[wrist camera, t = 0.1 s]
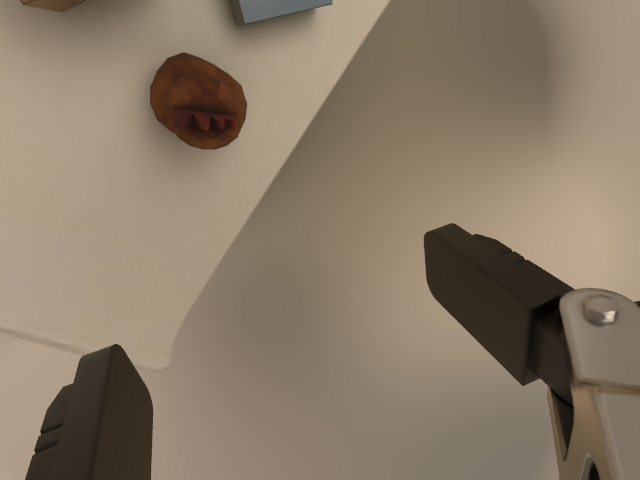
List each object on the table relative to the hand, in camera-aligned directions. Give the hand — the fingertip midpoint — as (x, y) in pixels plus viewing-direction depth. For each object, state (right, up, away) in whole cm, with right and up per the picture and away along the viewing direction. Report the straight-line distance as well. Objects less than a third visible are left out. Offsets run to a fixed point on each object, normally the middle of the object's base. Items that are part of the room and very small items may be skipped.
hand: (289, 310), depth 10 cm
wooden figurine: (-10, +14, +24) cm, 29 cm away
